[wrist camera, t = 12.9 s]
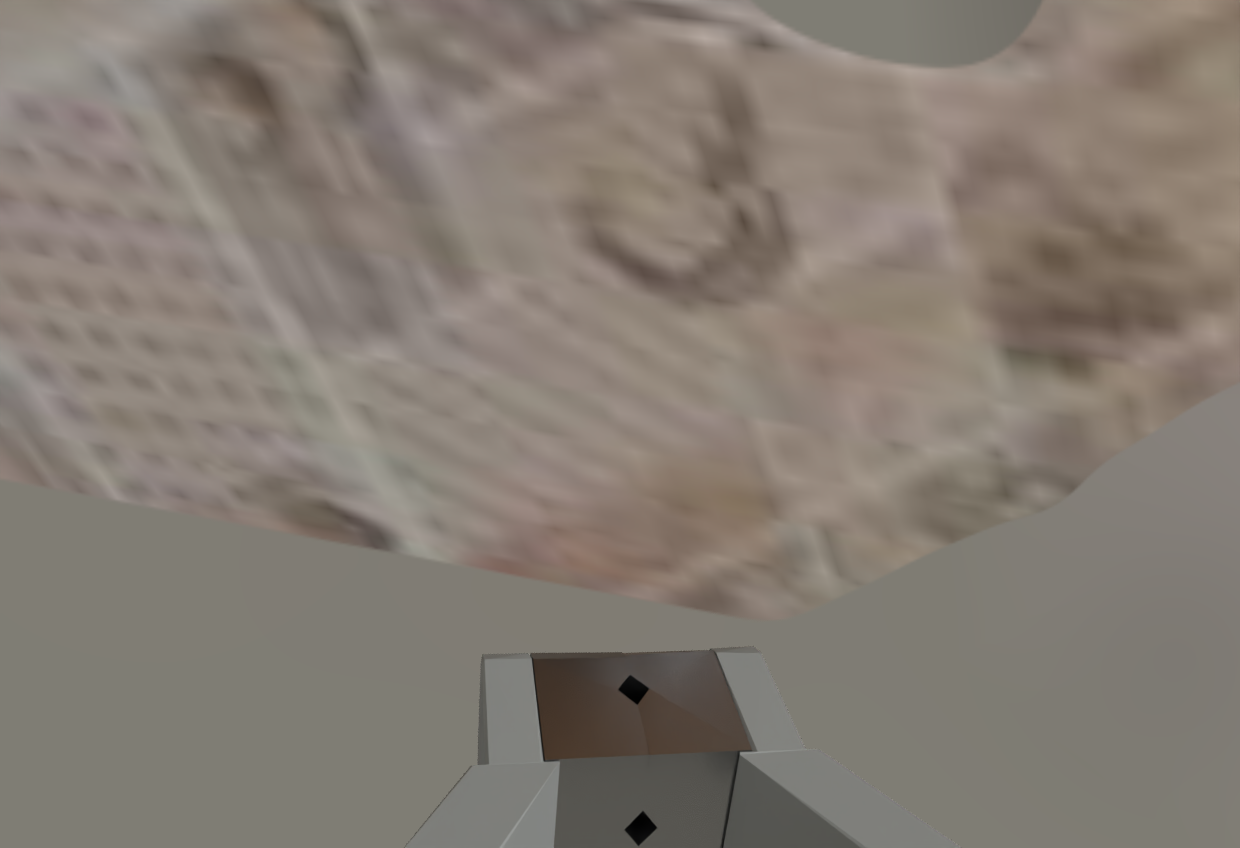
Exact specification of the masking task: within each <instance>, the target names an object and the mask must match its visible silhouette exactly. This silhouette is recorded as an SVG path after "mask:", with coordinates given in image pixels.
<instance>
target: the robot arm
mask: <svg viewBox="0 0 1240 848" xmlns="http://www.w3.org/2000/svg"><path fill="white" fill-rule="evenodd" d="M404 848H962V847H960V846H959V845H957V844H956V843H954V842H953V841H951V840H950V839H949V838H947V837H945V836H944V835H943V834H941V833H940V832H938V831H937V830H936V829H934V828H933V827H931V826H929V825H928V824H927V823H925V822H924V821H923V820H921V819H920V818H918V817H917V816H915V815H914V814H912V813H911V812H910V811H908V810H906V809H905V808H904V807H902V806H901V805H899V804H898V803H897V802H895V801H894V800H892V799H891V798H889V797H888V796H886V795H885V794H884V793H882V792H881V791H879V790H878V789H876V788H875V787H873V786H872V785H871V784H869V783H868V782H866V781H864V780H863V779H862V778H860V777H859V776H857V775H856V774H855V773H853V772H852V771H850V770H849V769H847V768H846V767H845V766H843V765H842V764H840V763H839V762H837V761H836V760H834V759H833V758H832V757H830V756H829V755H827V754H826V753H824V752H823V751H821V750H820V749H805V746H804V744H803V742H802V740H801V737H800V735H799V733H798V731H797V729H796V727H795V724H794V722H793V720H792V718H791V716H790V714H789V712H788V709H787V707H786V705H785V703H784V701H783V699H782V696H781V694H780V692H779V690H778V688H777V686H776V684H775V681H774V679H773V677H772V675H771V673H770V671H769V668H768V666H767V664H766V662H765V660H764V658H763V655H762V653H761V651H760V650H758V649H757V648H756V647H754V646H748V647H729V648H711V649H710V650H698V651H667V652H639V653H622V652H610V653H609V652H607V653H606V652H605V653H603V652H601V653H531V654H530V655H529V654H528V653H519V654H517V653H515V654H482V659H481V673H480V699H479V728H478V765H473V766H470V767H469V769H468V770H467V771H466V772H465V773H464V775H463V776H462V777H461V778H460V780H459V781H458V782H457V783H456V784H455V786H454V787H453V788H452V789H451V791H450V792H449V793H448V794H447V795H446V797H445V798H444V799H443V800H442V802H441V803H440V804H439V805H438V807H437V808H436V809H435V810H434V811H433V813H432V814H431V815H430V816H429V817H428V819H427V820H426V821H425V822H424V824H423V825H422V826H421V827H420V828H419V830H418V831H417V832H416V833H415V835H414V836H413V837H412V838H411V840H410V841H409V842H408V843H407V844H406V846H405V847H404Z"/></svg>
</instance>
